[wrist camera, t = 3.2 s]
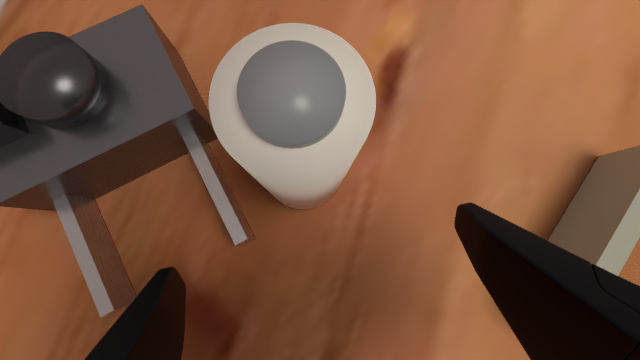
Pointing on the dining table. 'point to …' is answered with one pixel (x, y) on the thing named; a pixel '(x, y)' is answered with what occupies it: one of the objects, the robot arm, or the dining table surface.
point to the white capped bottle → (293, 110)
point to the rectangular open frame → (604, 212)
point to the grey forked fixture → (101, 133)
